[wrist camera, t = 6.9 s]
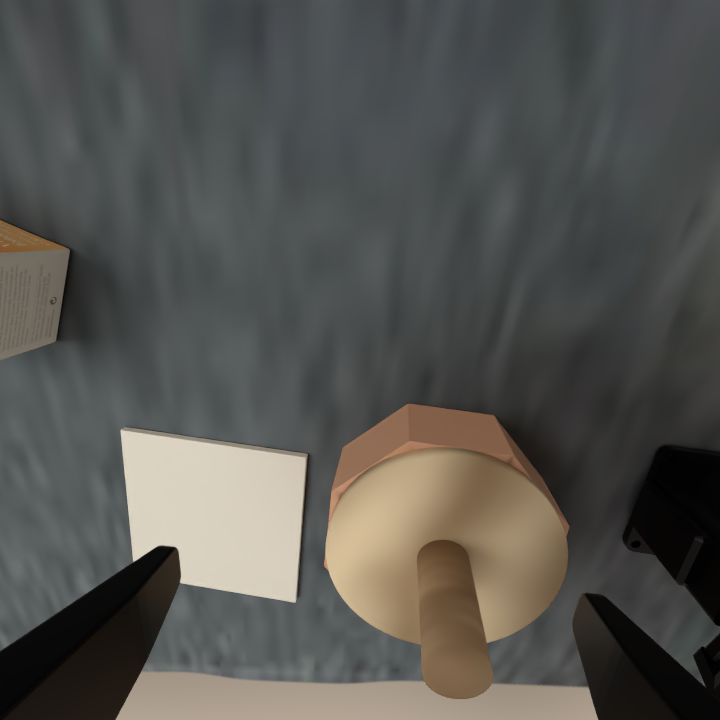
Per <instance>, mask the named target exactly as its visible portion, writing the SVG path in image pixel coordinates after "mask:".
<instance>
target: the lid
mask: <svg viewBox="0 0 720 720" xmlns="http://www.w3.org/2000/svg"><path fill="white" fill-rule="evenodd" d="M326 560H327V566H328V570H329V573H330V576H331V579H332V581H333V583H334V585H335V587H336V589H337V591H338V592H339V594H340V595H341V597H342V598H343V600H344V601H345V602H346V603H347V604H348V605H349V607H350V608H351V609H352V610H353V611H354V612H355V613H357V614H358V615H359V616H360V617H361V618H362V619H364V620H365V621H366V622H368V623H369V624H371V625H372V626H374V627H376V628H377V629H379V630H381V631H383V632H385V633H387V634H389V635H391V636H394V637H396V638H399V639H402V640H405V641H408V642H412V643H416V644H420V645H421V658H422V676H423V679H424V681H425V683H426V685H427V686H428V687H429V688H430V689H431V690H433V691H434V692H436V693H437V694H439V695H442V696H445V697H448V698H454V699H468V698H472V697H476V696H478V695H480V694H482V693H484V692H485V691H486V690H487V689H488V688H489V687H490V685H491V684H492V681H493V671H492V666H491V661H490V656H489V651H488V646H487V643H489V642H492V641H496V640H499V639H501V638H504V637H506V636H509V635H511V634H513V633H515V632H517V631H519V630H521V629H522V628H524V627H525V626H527V625H528V624H530V623H531V622H533V621H534V620H535V619H536V618H537V617H539V616H540V615H541V614H542V613H543V612H544V611H545V610H546V609H547V607H548V606H549V605H550V604H551V603H552V601H553V600H554V598H555V597H556V595H557V594H558V592H559V590H560V588H561V586H562V583H563V581H564V578H565V574H566V570H567V564H568V546H567V539H566V536H565V532H564V528H563V526H562V524H561V522H560V520H559V517H558V515H557V513H556V512H555V510H554V508H553V506H552V504H551V503H550V501H549V500H548V498H547V497H546V495H545V494H544V492H543V491H542V490H541V489H540V488H539V487H538V486H537V484H536V483H535V482H534V481H533V480H531V479H530V478H529V477H528V476H527V475H525V474H524V473H523V472H522V471H520V470H518V469H517V468H515V467H514V466H512V465H511V464H509V463H507V462H505V461H502V460H500V459H498V458H496V457H494V456H491V455H488V454H484V453H481V452H478V451H473V450H468V449H463V448H452V447H429V448H422V449H415V450H411V451H407V452H403V453H399V454H396V455H394V456H391V457H389V458H386V459H384V460H382V461H380V462H378V463H377V464H375V465H373V466H371V467H370V468H368V469H367V470H366V471H364V472H363V473H361V474H360V475H359V476H358V477H357V478H356V479H355V480H354V481H353V482H352V483H351V484H350V485H349V486H348V487H347V488H346V490H345V491H344V492H343V494H342V495H341V497H340V499H339V500H338V502H337V504H336V506H335V508H334V511H333V514H332V517H331V520H330V524H329V528H328V533H327V539H326Z"/></svg>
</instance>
